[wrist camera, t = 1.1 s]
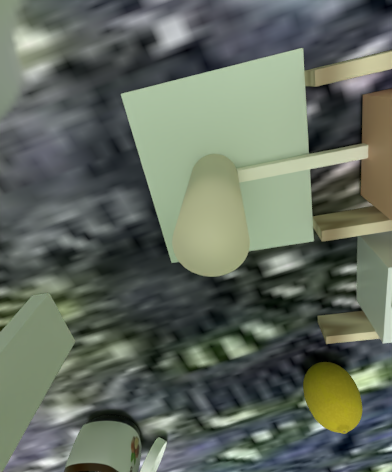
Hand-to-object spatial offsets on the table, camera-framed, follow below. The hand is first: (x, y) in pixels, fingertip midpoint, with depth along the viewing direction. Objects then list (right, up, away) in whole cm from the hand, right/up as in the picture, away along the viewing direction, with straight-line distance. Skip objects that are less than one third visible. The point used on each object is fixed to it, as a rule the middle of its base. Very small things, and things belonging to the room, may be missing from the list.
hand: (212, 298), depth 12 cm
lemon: (+14, -13, +25) cm, 31 cm away
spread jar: (-11, -27, +34) cm, 45 cm away
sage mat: (+2, +8, +15) cm, 17 cm away
